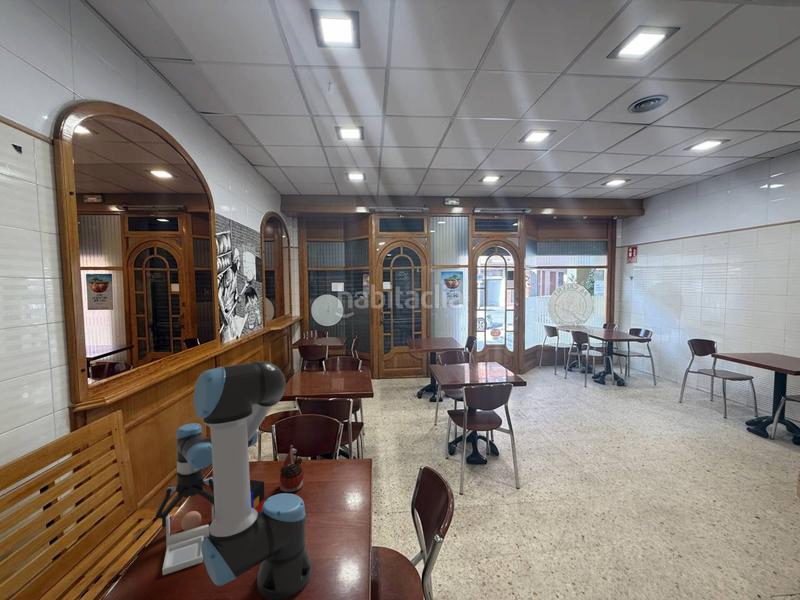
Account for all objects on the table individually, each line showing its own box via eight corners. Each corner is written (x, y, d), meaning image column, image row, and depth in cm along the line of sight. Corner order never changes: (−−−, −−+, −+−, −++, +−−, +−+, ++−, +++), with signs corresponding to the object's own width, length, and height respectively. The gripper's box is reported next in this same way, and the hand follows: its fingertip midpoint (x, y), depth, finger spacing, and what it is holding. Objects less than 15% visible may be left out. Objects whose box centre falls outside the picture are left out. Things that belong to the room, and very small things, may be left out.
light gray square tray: (202, 562, 104) (202, 556, 104) (162, 575, 100) (162, 569, 99) (203, 540, 113) (203, 535, 113) (167, 551, 109) (167, 546, 108)
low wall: (208, 536, 115) (208, 526, 115) (166, 549, 109) (166, 538, 109) (208, 533, 116) (208, 524, 116) (167, 546, 111) (166, 536, 110)
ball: (200, 531, 117) (200, 515, 117) (180, 537, 114) (180, 520, 114) (201, 521, 122) (201, 505, 122) (182, 526, 120) (181, 510, 119)
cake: (289, 496, 137) (289, 453, 136) (274, 489, 141) (273, 448, 141) (309, 483, 146) (308, 443, 145) (293, 477, 151) (293, 438, 150)
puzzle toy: (248, 524, 121) (247, 497, 121) (223, 520, 123) (223, 494, 123) (264, 506, 131) (264, 481, 130) (241, 503, 133) (241, 478, 132)
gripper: (229, 456, 127) (230, 510, 128) (148, 473, 115) (149, 532, 116) (230, 465, 120) (231, 522, 121) (143, 484, 108) (145, 547, 109)
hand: (191, 527), depth 118 cm, fingers open, 13 cm apart
